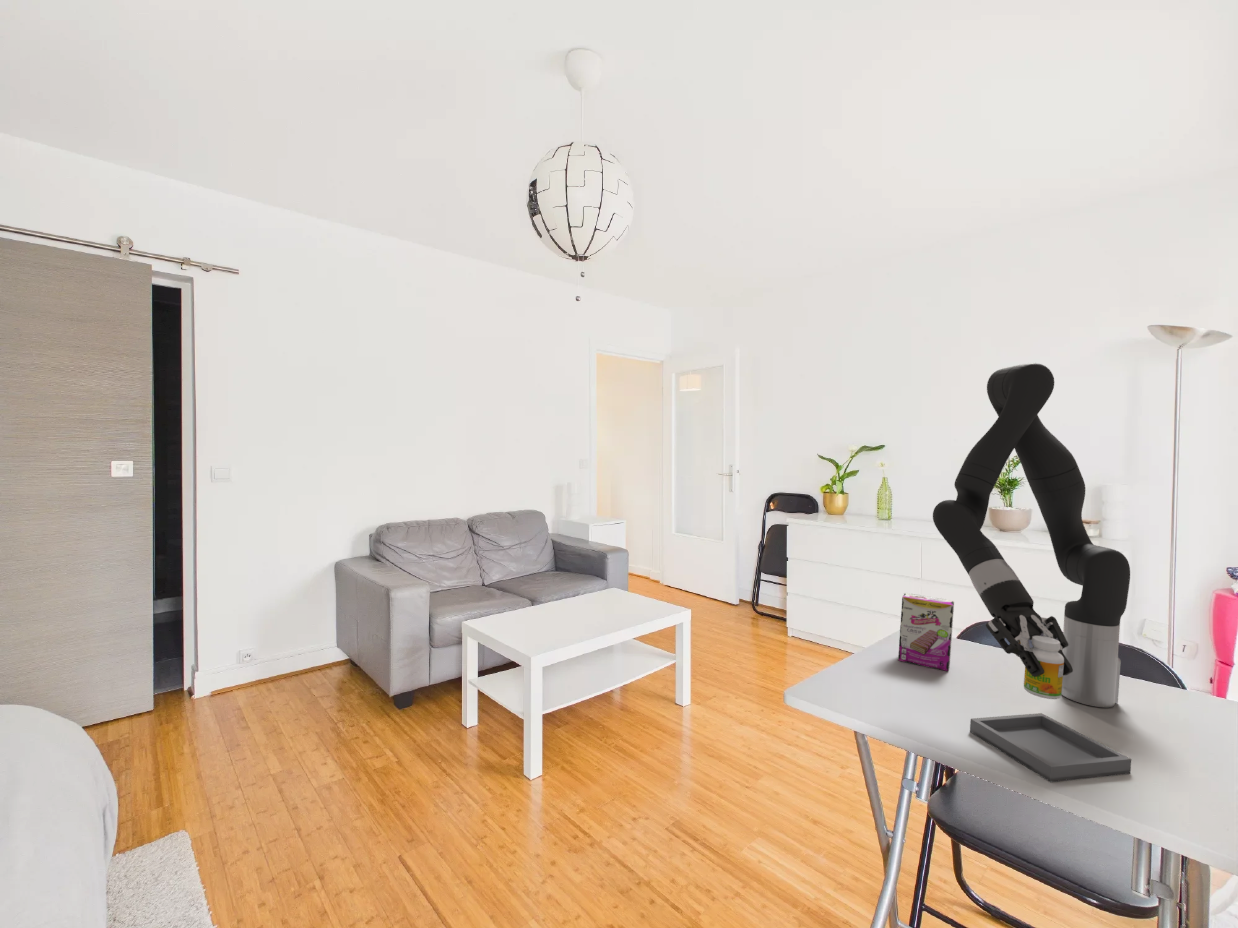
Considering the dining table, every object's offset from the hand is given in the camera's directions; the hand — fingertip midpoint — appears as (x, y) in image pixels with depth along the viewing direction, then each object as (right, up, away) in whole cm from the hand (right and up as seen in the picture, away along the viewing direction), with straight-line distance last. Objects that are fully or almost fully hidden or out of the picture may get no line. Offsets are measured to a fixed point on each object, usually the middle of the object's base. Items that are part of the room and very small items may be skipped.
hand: (1053, 673), depth 99 cm
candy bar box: (0, -13, +41) cm, 43 cm away
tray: (-1, -14, +1) cm, 14 cm away
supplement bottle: (-1, -4, +2) cm, 5 cm away
